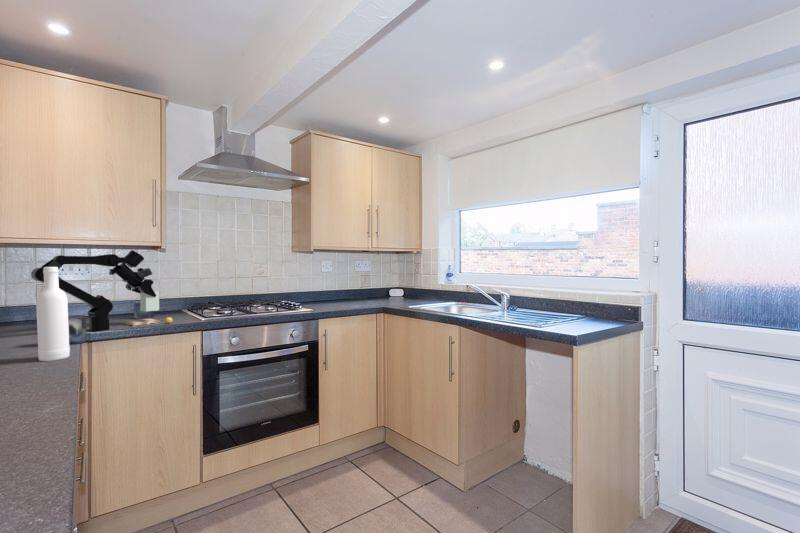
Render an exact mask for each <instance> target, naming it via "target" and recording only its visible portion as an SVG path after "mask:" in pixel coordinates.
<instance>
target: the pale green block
mask: <svg viewBox="0 0 800 533" xmlns="http://www.w3.org/2000/svg"><path fill="white" fill-rule="evenodd" d="M153 291H154V292H155V294H156V297H153V296H150V295H148V294H145V293H142V292H140V293H139V296H140V297H139V299H140V301H139V302H140V311H154V312H155V311H156V312H157V311H160V291H159V290H153Z"/></svg>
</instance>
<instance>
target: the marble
mask: <svg viewBox="0 0 800 533" xmlns="http://www.w3.org/2000/svg"><path fill="white" fill-rule="evenodd" d="M173 321H174V320H173V318H172V317H170V316H169V317H166V318H165V319H164V322H165V323H166V324H167V323H170V324H172V322H173Z"/></svg>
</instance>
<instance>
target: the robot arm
mask: <svg viewBox="0 0 800 533" xmlns="http://www.w3.org/2000/svg"><path fill="white" fill-rule="evenodd" d="M144 260H145V258H144V256H143V255H142V254H140V253H138V252H137V251H135V250H132V249H131V250H130V251H129V252H128V254H126V255H125V256H123V257H121V256H118V255H117V254H113V253H107V254H101V255H94V256H89V255H86V256H84V255H82V256H81V255H80V256H79V255H56V256H54V257H53V258H52V259H51V260H49V261H48V262H46V263H44V264H43V265H42V266H39V267H36V268H34V269H33V270H32V271H31V272H30V273H31V274H30V276H31V278H32V279H33V280H34V281H37V282H39V283H42V284H44V273H43V270H44V267H58V270H60V268H62V266H64V265H96V266H100V267H101V266H102V267H113V268H109V269H108V270H109V275H110V276H114V275H115V274H116V275H117V276H118V277H119V278H121V280H122V281H123V282H124V283H126V284H125V289H126V290H128V291H132V292H133V293H137V294H140V292H142V293H145V294H148V295H150V296H153V297H156V294H155V292H154V291H155V290H154V289H153V287H152V286H153V284H154V281H153V280H152V279H148V278H147V277H149V276H152V275H153V272H152V270H151V268H149V267H147V268H146V267H145V268H142V267H139V268H137V267H138V266H139V265H140V264H141V263H142V262H143V261H144ZM132 268H137V271H134V270H132ZM58 278H59V288H60V289H61V290H63V291H64V292H65V294H68V295H71V296H72V297H74V298H76V299H78V300H80V301H82V302H83V303H86V305H87V306H89V307H90V309H89V310H88V311H87V313H86V314H87V315H88V323H89V324H88V325H89V326H88V327H89V328H88V329H87V330H88V331H89V330H90V331H89V332H99V331H98V330H101V331H106V330H107V329H108V330H110V329H111V328H110V318H109V317H108V316H109V314H110V313H111V311H113V308H114V304H113V302H111V299H108V298H106V297H104V296H103V295H100V294H98V295H92V294H91V293H88V292H86V291H85V290H82V289H81V288H79V287H78V286H75V285H74V284H72V283H70V282H68V281H66V280H64V279H63V278H61V277H60V276H59V275H58ZM146 278H147V279H146Z"/></svg>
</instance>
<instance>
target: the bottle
mask: <svg viewBox="0 0 800 533" xmlns="http://www.w3.org/2000/svg"><path fill="white" fill-rule="evenodd" d="M43 273H44V283H43V289H42V290H41V291H40V292H38V294H37V297H36V298H35V304H36V308H35V310H36V330H37V331H36V332H37V357H38V360H39V361H40V362H52V361H59V360H64V359H67V358H69V357H70V355H71V347H70V345H69V325H68V316H69V305H68V302H69V299H68V296H67V293H66V292H64V291H63V290H61V289H60V288H59V278H58V276H59V273H60V269H58V267H44V270H43Z"/></svg>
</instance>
